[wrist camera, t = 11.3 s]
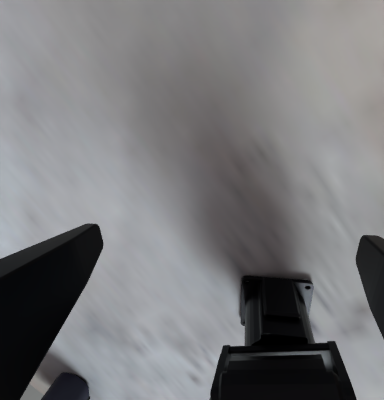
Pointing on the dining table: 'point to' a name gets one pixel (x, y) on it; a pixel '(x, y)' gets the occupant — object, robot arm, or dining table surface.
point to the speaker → (67, 388)
